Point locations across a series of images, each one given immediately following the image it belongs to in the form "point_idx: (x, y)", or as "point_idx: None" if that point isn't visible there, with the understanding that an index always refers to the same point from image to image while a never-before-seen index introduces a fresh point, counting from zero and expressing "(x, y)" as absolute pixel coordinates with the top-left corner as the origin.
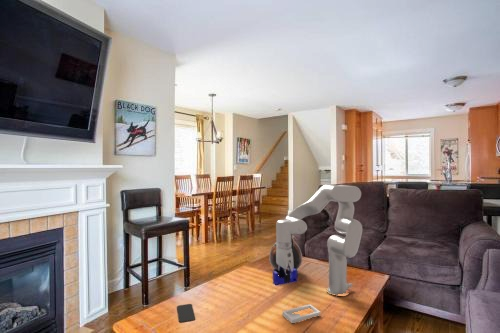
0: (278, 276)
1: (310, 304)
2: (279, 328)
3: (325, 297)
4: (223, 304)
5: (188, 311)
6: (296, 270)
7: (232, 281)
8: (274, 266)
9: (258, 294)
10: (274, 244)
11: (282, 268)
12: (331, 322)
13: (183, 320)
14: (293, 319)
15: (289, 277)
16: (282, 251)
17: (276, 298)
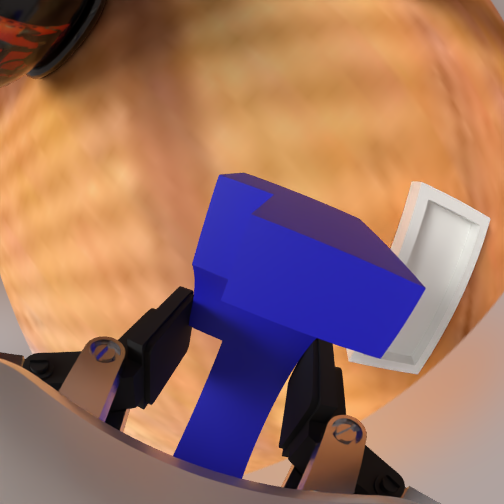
0: (244, 467)
1: (425, 184)
2: (384, 405)
3: (376, 17)
4: (136, 408)
5: None
6: (416, 290)
7: (19, 269)
8: (12, 81)
9: (118, 278)
10: None
11: (117, 382)
12: None
13: None
14: (421, 367)
15: (341, 396)
16: None
17: (198, 240)
